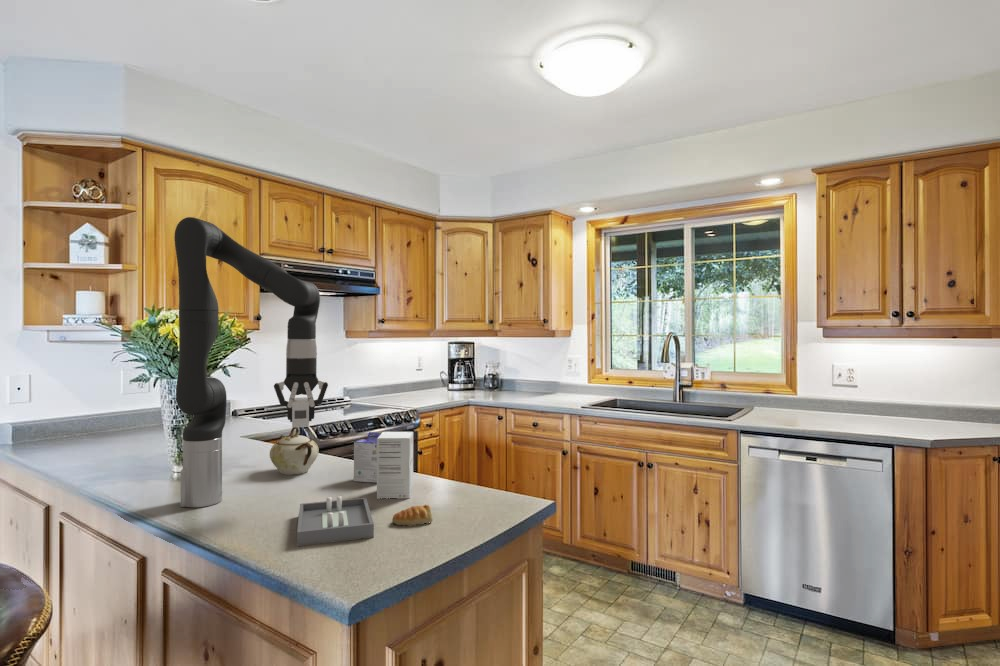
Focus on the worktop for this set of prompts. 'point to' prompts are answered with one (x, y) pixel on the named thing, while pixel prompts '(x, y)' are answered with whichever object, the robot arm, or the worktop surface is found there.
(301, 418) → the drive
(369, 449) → the ink cartridge box
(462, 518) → the worktop surface
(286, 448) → the sugar bowl
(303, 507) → the guide tray
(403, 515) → the pastry
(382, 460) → the supplement box
